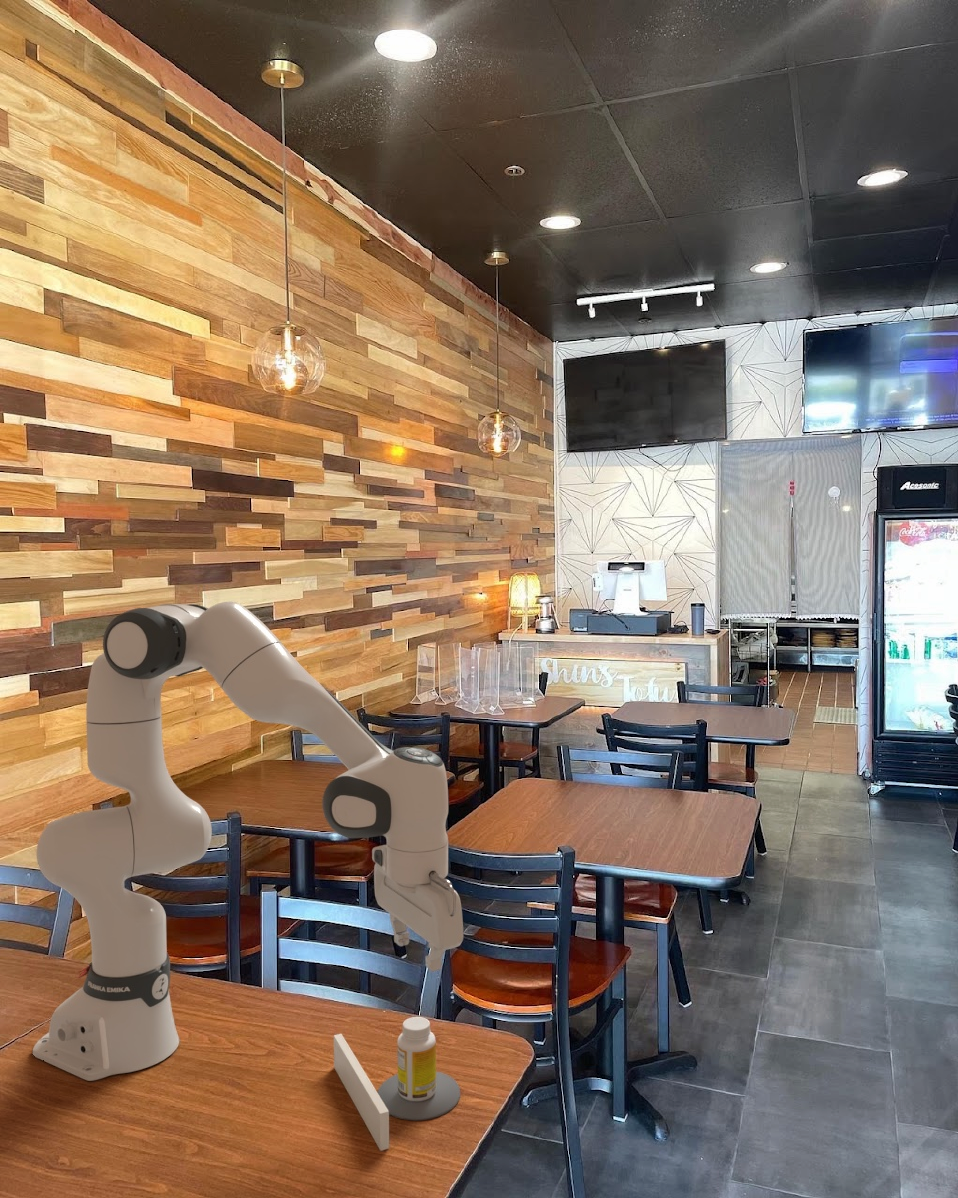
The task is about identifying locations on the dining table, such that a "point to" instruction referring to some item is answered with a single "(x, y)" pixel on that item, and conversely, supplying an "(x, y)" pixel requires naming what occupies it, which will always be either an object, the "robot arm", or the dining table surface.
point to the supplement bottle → (416, 1060)
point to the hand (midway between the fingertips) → (417, 956)
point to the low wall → (362, 1092)
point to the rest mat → (420, 1110)
